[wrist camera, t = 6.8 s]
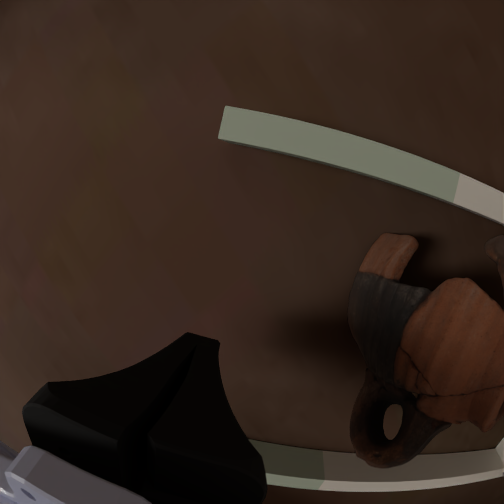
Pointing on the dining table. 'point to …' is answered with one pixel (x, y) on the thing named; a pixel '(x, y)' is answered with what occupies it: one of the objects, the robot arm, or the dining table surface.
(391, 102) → the dining table surface
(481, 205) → the open rectangular rail frame
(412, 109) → the dining table surface
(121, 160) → the dining table surface
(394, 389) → the brown piece
